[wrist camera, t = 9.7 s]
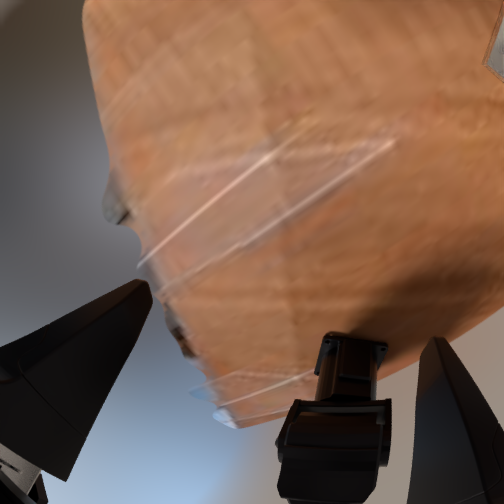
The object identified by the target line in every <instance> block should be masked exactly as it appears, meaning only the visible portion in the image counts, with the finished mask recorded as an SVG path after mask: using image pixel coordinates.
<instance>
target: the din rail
mask: <svg viewBox="0 0 504 504" xmlns="http://www.w3.org/2000/svg"><path fill="white" fill-rule="evenodd" d="M482 65H484V66H485V67H486V68H487V69H488V70H490V71H491V72H492V73H493V74H494V75H495V76H497V77H498V78H499V79H500V80H501V81H502V82H503V83H504V1H503V5H502V8H501V11H500V14H499V18H498V21H497V24H496V27H495V30H494V32H493V35H492V38H491V41H490V43H489V46H488V49H487V51H486V54H485V56H484V59H483V61H482Z"/></svg>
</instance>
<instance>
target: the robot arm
mask: <svg viewBox="0 0 504 504" xmlns="http://www.w3.org/2000/svg"><path fill="white" fill-rule="evenodd" d="M152 304H153V298H152V295H151V291H150V287H149V284H148V282H147V281H145V280H141V279H134V280H132V281H130V282H128V283H126V284H124V285H122V286H120V287H118V288H117V289H115V290H113V291H111V292H109V293H107V294H105V295H103V296H101V297H99V298H97V299H95V300H93V301H91V302H89V303H88V304H85V305H83V306H81V307H80V308H78V309H76V310H74V311H72V312H70V313H68V314H66V315H64V316H62V317H61V318H59V319H57V320H55V321H53V322H51V323H50V324H48V325H45V326H44V327H42V328H40V329H38V330H36V331H34V332H32V333H30V334H28V335H26V336H24V337H22V338H20V339H17V340H15V341H13V342H11V343H9V344H6V345H4V346H2V347H0V504H47V503H48V498H47V495H46V491H45V487H44V483H43V479H42V474H41V473H40V472H41V470H44V471H45V472H47V473H49V474H51V475H53V476H55V477H57V478H59V479H61V480H62V481H65V482H66V481H67V479H68V477H69V475H70V473H71V471H72V468H73V466H74V464H75V462H76V460H77V458H78V455H79V453H80V451H81V449H82V447H83V445H84V443H85V441H86V438H87V436H88V434H89V431H90V430H91V428H92V426H93V424H94V422H95V420H96V418H97V416H98V414H99V412H100V410H101V408H102V406H103V404H104V402H105V400H106V398H107V396H108V394H109V392H110V390H111V388H112V386H113V385H114V383H115V381H116V379H117V377H118V375H119V373H120V371H121V369H122V368H123V366H124V364H125V362H126V360H127V358H128V357H129V355H130V353H131V351H132V349H133V347H134V346H135V343H136V341H137V339H138V337H139V335H140V332H141V330H142V328H143V326H144V323H145V321H146V318H147V316H148V314H149V311H150V309H151V307H152ZM387 351H388V344H387V343H381V342H373V341H365V340H358V339H350V338H343V337H336V336H330V335H326V336H324V337H323V339H322V344H321V348H320V351H319V355H318V359H317V363H316V367H315V371H314V374H315V375H317V376H319V379H318V385H317V390H316V395H315V400H314V401H305V400H301V399H295V400H294V403H293V405H292V406H291V408H290V410H289V412H288V415H287V417H286V420H285V422H284V424H283V427H282V429H281V431H280V434H279V436H278V438H277V439H276V441H275V445H276V447H277V448H278V459H279V462H280V463H282V465H281V471H280V475H279V479H278V483H277V488H278V492H279V495H280V497H281V498H285V499H287V501H288V503H289V504H363V503H364V502H365V501H366V499H367V498H368V497H369V495H370V494H371V493H372V492H373V490H374V489H375V487H376V482H377V476H378V469H379V467H387V465H388V460H389V454H390V446H391V430H392V424H391V423H392V405H391V403H392V402H391V398H389V399H385V400H376V388H377V387H376V386H377V370H378V368H379V367H380V365H381V363H382V361H383V359H384V357H385V355H386V353H387ZM407 504H504V431H503V429H502V427H501V425H500V424H499V423H498V420H497V418H496V417H495V415H494V413H493V412H492V410H491V408H490V406H489V405H488V403H487V401H486V399H485V398H484V396H483V395H482V393H481V391H480V390H479V388H478V386H477V385H476V383H475V382H474V380H473V379H472V377H471V375H470V374H469V372H468V371H467V369H466V368H465V366H464V365H463V363H462V362H461V360H460V359H459V357H458V356H457V354H456V353H455V352H454V350H453V349H452V347H451V346H450V344H449V343H448V341H447V340H446V339H445V338H444V337H438V336H433V337H432V338H431V339H430V340H429V342H428V343H427V345H426V347H425V348H424V350H423V351H422V353H421V356H420V362H419V375H418V386H417V396H416V410H415V434H414V449H413V460H412V470H411V478H410V486H409V492H408V499H407Z"/></svg>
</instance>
